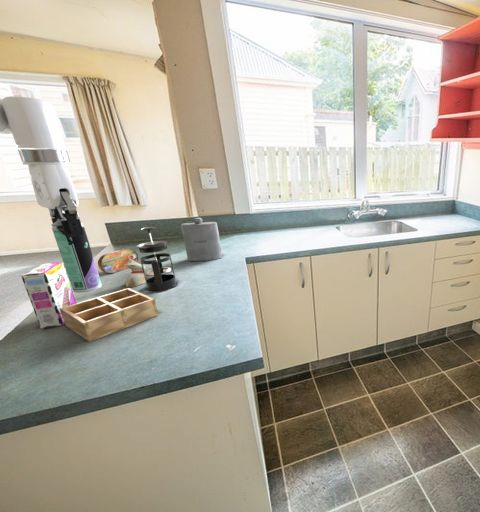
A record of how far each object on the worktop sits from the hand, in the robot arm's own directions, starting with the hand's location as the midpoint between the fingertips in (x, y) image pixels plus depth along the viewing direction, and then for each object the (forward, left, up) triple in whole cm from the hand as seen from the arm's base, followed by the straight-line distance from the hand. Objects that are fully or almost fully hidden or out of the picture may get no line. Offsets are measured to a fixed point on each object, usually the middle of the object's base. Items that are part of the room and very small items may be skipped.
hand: (70, 233), depth 73 cm
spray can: (0, 0, -15) cm, 15 cm away
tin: (+26, +56, -29) cm, 68 cm away
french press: (+25, +20, -29) cm, 43 cm away
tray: (+5, +6, -28) cm, 29 cm away
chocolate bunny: (+22, +32, -29) cm, 48 cm away
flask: (+53, +39, -29) cm, 71 cm away
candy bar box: (-3, +20, -29) cm, 35 cm away
